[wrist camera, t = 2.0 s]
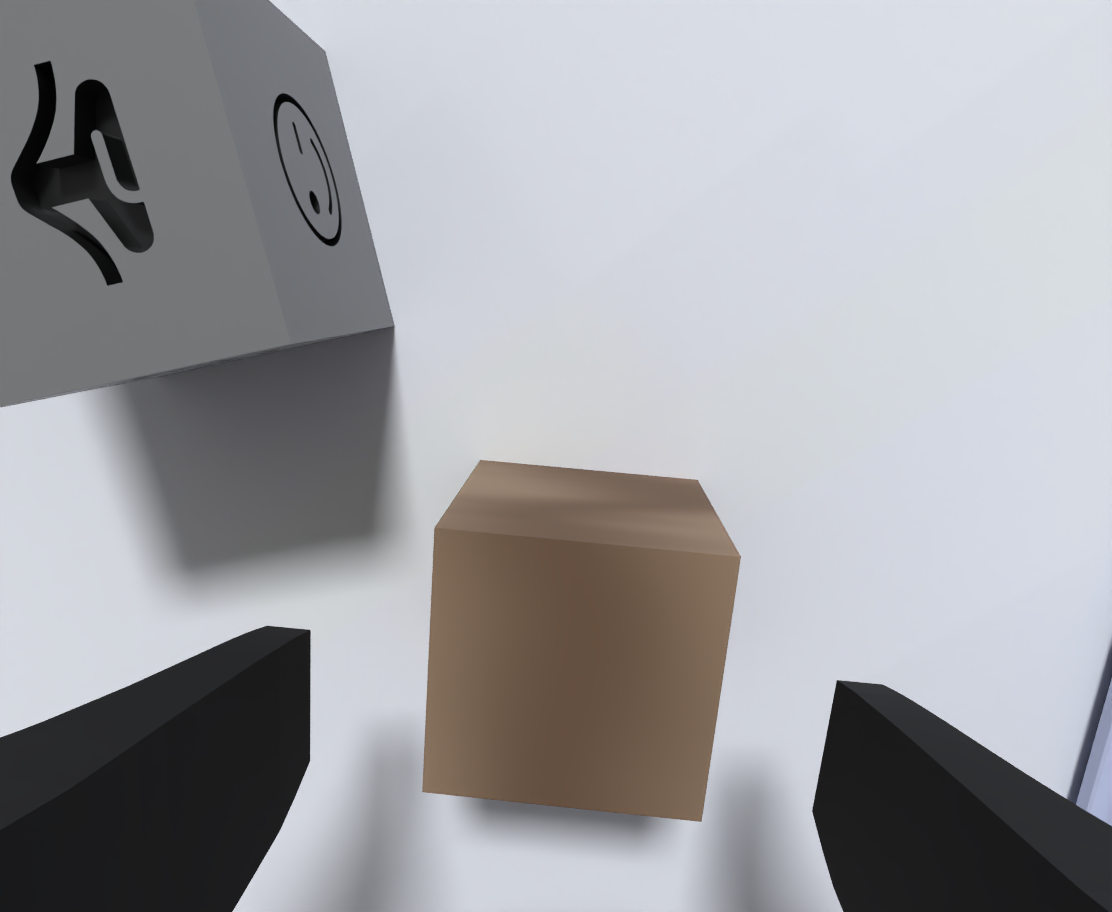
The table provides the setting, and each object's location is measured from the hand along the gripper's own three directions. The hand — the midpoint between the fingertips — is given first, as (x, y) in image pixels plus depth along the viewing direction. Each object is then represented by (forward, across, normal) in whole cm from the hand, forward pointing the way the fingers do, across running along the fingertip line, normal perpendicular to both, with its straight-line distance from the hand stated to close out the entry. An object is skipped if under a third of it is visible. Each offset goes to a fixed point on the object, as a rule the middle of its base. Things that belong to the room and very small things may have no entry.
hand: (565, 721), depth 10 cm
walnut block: (+5, 0, 0) cm, 5 cm away
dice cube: (+6, +7, -6) cm, 11 cm away
